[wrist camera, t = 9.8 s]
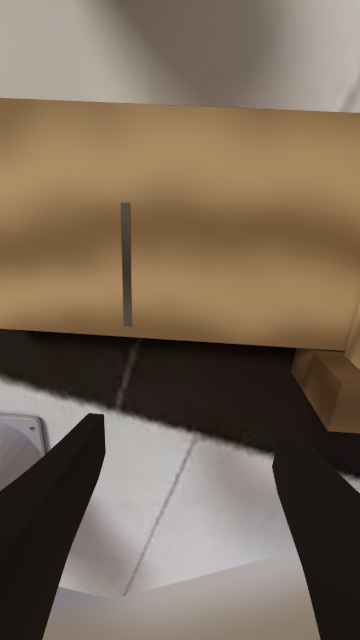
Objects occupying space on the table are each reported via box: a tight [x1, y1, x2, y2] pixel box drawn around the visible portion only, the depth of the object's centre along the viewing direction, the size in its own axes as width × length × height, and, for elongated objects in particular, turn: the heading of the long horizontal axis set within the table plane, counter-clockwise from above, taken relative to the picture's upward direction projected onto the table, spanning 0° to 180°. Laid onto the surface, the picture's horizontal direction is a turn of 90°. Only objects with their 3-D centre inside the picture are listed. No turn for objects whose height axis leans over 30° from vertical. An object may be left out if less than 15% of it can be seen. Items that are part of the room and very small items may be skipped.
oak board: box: [0, 98, 360, 351], centre depth 16 cm, size 12×30×2 cm, turn 87°
